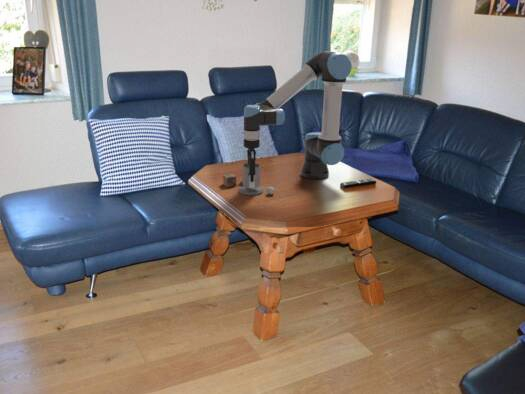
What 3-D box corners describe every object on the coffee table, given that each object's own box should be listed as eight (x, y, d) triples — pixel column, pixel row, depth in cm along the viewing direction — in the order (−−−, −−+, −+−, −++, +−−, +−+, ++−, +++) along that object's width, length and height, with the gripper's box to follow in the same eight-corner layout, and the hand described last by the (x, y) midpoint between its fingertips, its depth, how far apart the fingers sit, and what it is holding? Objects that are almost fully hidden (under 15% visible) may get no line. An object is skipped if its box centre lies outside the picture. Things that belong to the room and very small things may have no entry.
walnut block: (232, 183, 261) (232, 173, 259) (236, 186, 256) (236, 176, 255) (223, 184, 259) (223, 174, 257) (226, 187, 254) (226, 177, 253)
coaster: (262, 186, 255) (262, 185, 255) (264, 195, 244) (264, 193, 244) (238, 187, 254) (238, 185, 254) (239, 195, 243) (239, 194, 243)
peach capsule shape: (251, 180, 265) (251, 171, 263) (252, 183, 260) (252, 174, 258) (241, 180, 264) (241, 171, 262) (242, 183, 259) (242, 174, 258)
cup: (257, 188, 243) (258, 168, 240) (240, 187, 245) (240, 167, 241) (261, 183, 251) (261, 163, 248) (244, 181, 253) (245, 162, 249)
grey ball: (273, 193, 247) (274, 185, 246) (274, 195, 244) (275, 188, 243) (266, 193, 247) (266, 186, 246) (267, 195, 243) (267, 188, 242)
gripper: (242, 133, 250) (241, 177, 257) (245, 144, 230) (244, 192, 238) (257, 133, 250) (256, 177, 258) (261, 144, 231) (260, 191, 238)
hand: (251, 184), depth 248 cm, fingers closed on cup, 8 cm apart
